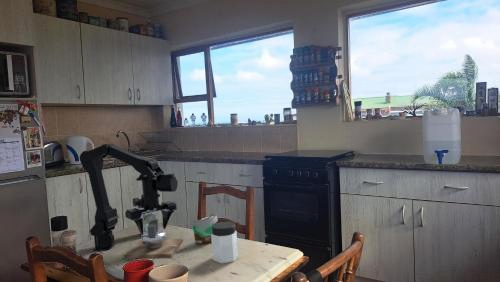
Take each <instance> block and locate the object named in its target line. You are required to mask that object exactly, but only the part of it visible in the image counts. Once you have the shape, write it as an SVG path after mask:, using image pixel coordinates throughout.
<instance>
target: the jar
mask: <svg viewBox="0 0 500 282" xmlns="http://www.w3.org/2000/svg"><path fill="white" fill-rule="evenodd" d="M237 232H238V231H237V230H236V224H235V223H234V222H231V221H220V222H216V224H213V225H212V234H211V241H212V243H211V254H212V255H211V256H212V261H214V262H216V263H219V264H228V263H233V262H235V261H236V259H238V257H239V253H238V252H239V251H238V236H237V235H238V234H237Z"/></svg>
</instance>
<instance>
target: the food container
mask: <svg viewBox="0 0 500 282" xmlns="http://www.w3.org/2000/svg"><path fill="white" fill-rule="evenodd" d="M218 219H219V218H218V216H217V214H216V213H213V212H211V215H209V216H205V217H201V218H200V219H197V220H195V219H192V220H191V226H192V230H193V235H194V236H193V237H194V243H195V245H197V246H199V245H200V246H203V245H209V244H212V241H211V234H212V225H213V224H216V223H218V221H219V220H218Z"/></svg>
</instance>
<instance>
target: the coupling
mask: <svg viewBox="0 0 500 282" xmlns="http://www.w3.org/2000/svg"><path fill="white" fill-rule="evenodd" d="M140 236H141V240H142V243H143V244H145V245H154V244H159V243H162V242H164V241H165V240H166V239H167V233H166V229H160V228H159V219H158V218H156V219H153V220H151V221H150V223H149V225H148V231H146V232H144V233H143V235H141V234H140Z"/></svg>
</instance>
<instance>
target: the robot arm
mask: <svg viewBox="0 0 500 282" xmlns="http://www.w3.org/2000/svg"><path fill="white" fill-rule="evenodd" d="M108 156H110V157H112V158H114V159H116V160H118V161H120V162H123V163H124V164H127V165H129V166H131V167H132V168H133V170H135V171H136V172H137V173H139V176H138V177H136V179H135V180H136V182H137V181H139V182H141V186H142V187H141V188H142V189H141V190H142V194H141V197H140V198H139V197H138V196H137V197H133V198H132V206H133V207H134V208H130V209H126V211H125V213H124V215H125V218H127V219H129V220H131V221H133V222H134V223H135V225H136V226H137V229H138V231H139V233H140V236H141V235H143V218H141V216H142V214H146V213H150V212H155V211H156V212H158V211H160V212H161V215H162V216H161V217H162V230H166V228H167V226H168V223H169V220H170V218H171V216H172V214H173V213H175V211H176V210H178V206H177V202H175V201H171V200H167V201H166V200H165V201H162V202H161V203H160V201H159V200H160V197H161V194H160V193H159V192H161V193H163V192H164V193H166V192H168V193H171V192H172V193H175V192H176V191H177V189H178V186H179V183H178V179H177V177H176V176H175V173H174V172H172V173H165V172H164V170H163V169H162V168H161V166H160V165H159V162H158V160H157V159H156V158H153V157H149V156H141V155H138V154H136V153H133V152H130V151H128V150H126V149H123V148H122V147H120V146H117V145H115V144H114V143H110V142H109V143H103V144H101V145H99V146H97V147H95V148H93V149H89V150H84V151H82V152H81V153H80V155H79V161H80V165H81V166H82V168H83V170H84V171H85V172H86V173H87V174H88V178H89V182H90V187H91V191H92V195H93V199H94V203H95V207H96V209H95V213H94V214H95V215H94V225H93V226H92V227H91V228H90V229H89V233H90V235H91V236H92V237H93V238H94V239H93V241H94V248H93V249H92V251H108V250H110V249H112V248H113V247H114V246H115V245H116V242H115V235H114V233H113V230H115V228H116V225H117V224H118V222H119V220H118V219H119V218H120V217H119V215H118V210H117V208H112V206H111V204H110V201H109V198H108V192H107V188H106V184H105V181H104V176H103V172H102V171H103V166H104V159H105V158H107V157H108ZM137 207H138V208H137ZM140 208H144V209H140ZM153 209H154V210H153ZM147 210H149V211H147Z"/></svg>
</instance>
